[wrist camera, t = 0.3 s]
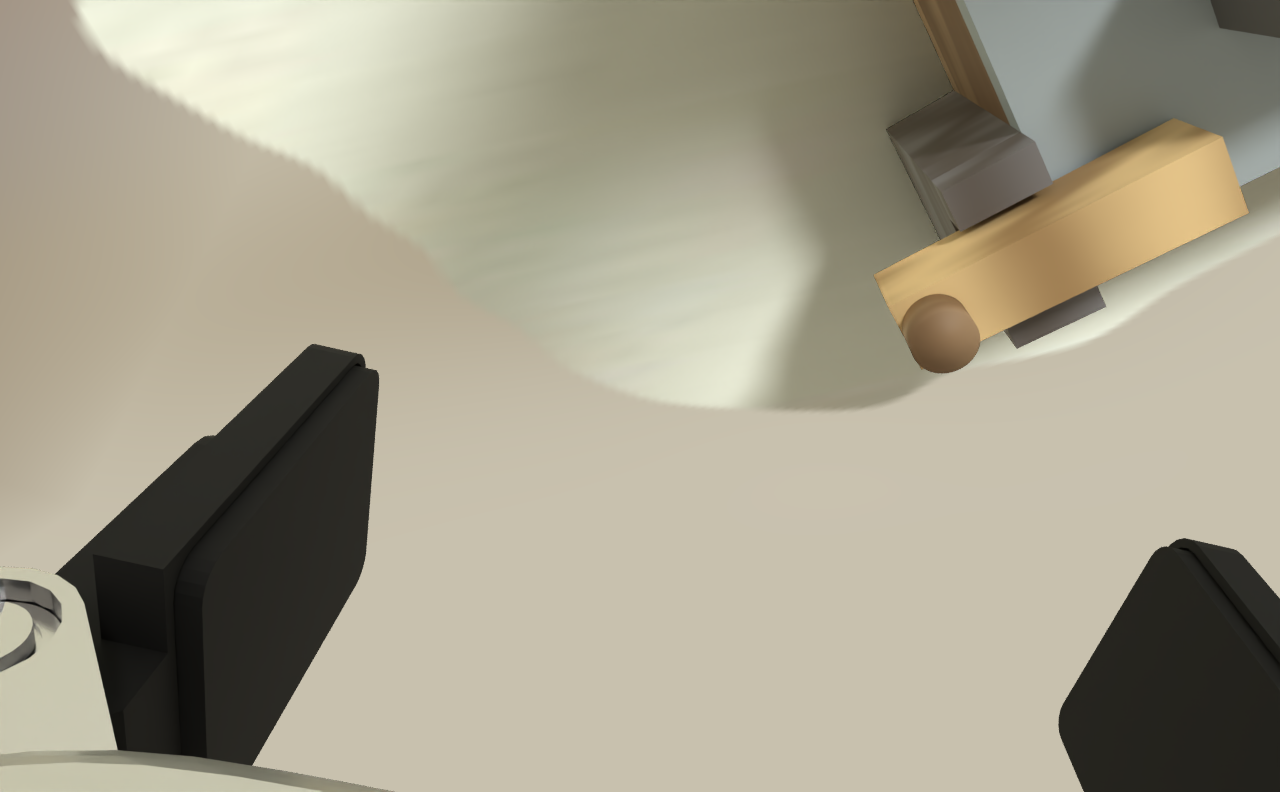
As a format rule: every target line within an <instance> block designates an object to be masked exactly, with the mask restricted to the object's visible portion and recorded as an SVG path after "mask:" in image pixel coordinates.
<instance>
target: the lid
mask: <svg viewBox="0 0 1280 792" xmlns="http://www.w3.org/2000/svg"><path fill="white" fill-rule="evenodd" d="M956 3H957V5H958V7H959V9H960V12H961V14H962V16H963V19H964V21H965V23H966V25H967V28H968V30H969V32H970V35H971V37H972V39H973V41H974V44H975V46H976V48H977V51H978V53H979V55H980V57H981V60H982V62H983V64H984V67H985V69H986V71H987V73H988V76H989V78H990V80H991V83H992V85H993V87H994V89H995V92H996V94H997V96H998V99H999V101H1000V103H1001V105H1002V108H1003V110H1004V112H1005V115H1006V117H1007V119H1008V121H1009V124H1010V126H1012V127H1013V128H1015V129H1016V130H1018V131H1019V132H1021V133H1023V134H1024V135H1026V136H1027V137H1029V138H1031V139H1032V140H1034V141H1035V142H1036V145H1037V147H1038V149H1039V152H1040V154H1041V156H1042V159H1043V161H1044V163H1045V166H1046V168H1047V170H1048V173H1049V175H1050V177H1051V180H1052V181H1054V180H1056V179H1058V178H1060V177H1062V176H1064V175H1066V174H1068V173H1070V172H1071V171H1073V170H1075V169H1077V168H1079V167H1081V166H1083V165H1085V164H1087V163H1089V162H1091V161H1093V160H1094V159H1096V158H1098V157H1100V156H1102V155H1104V154H1106V153H1108V152H1110V151H1112V150H1114V149H1115V148H1117V147H1119V146H1121V145H1123V144H1125V143H1127V142H1129V141H1131V140H1133V139H1135V138H1137V137H1138V136H1140V135H1142V134H1144V133H1146V132H1148V131H1150V130H1152V129H1154V128H1156V127H1158V126H1160V125H1161V124H1163V123H1165V122H1167V121H1169V120H1171V119H1173V118H1175V119H1178V120H1180V121H1183V122H1185V123H1188V124H1191V125H1193V126H1196V127H1198V128H1201V129H1204V130H1206V131H1209V132H1212V133H1214V134H1217V135H1219V136H1222V137H1223V139H1224V142H1225V145H1226V148H1227V151H1228V154H1229V157H1230V159H1231V162H1232V165H1233V168H1234V171H1235V174H1236V177H1237V180H1238V183H1239V186H1242V185H1244V184H1246V183H1248V182H1250V181H1252V180H1254V179H1256V178H1258V177H1261V176H1263V175H1265V174H1267V173H1269V172H1271V171H1273V170H1275V169H1277V168H1279V167H1280V0H956Z"/></svg>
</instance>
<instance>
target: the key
mask: <svg viewBox="0 0 1280 792" xmlns="http://www.w3.org/2000/svg"><path fill="white" fill-rule="evenodd" d="M1052 182H1053V184H1052V185H1050V186H1048V187H1046V188H1044V189H1042V190H1040V191H1038V192H1036V193H1034V194H1033V195H1031V196H1029V197H1027V198H1025V199H1023V200H1021V201H1019V202H1017V203H1015V204H1013V205H1011V206H1010V207H1008V208H1006V209H1004V210H1002V211H1000V212H998V213H996V214H994V215H992V216H990V217H988V218H986V219H985V220H983V221H981V222H979V223H977V224H975V225H973V226H971V227H969V228H967V229H965V230H963V231H962V232H960V231H957V232H955V233H953V234H951V235H949V236H947V237H945V238H943V239H941V240H939V241H937V242H936V243H934V244H932V245H930V246H928V247H926V248H924V249H922V250H920V251H918V252H916V253H914V254H913V255H911V256H909V257H907V258H905V259H903V260H901V261H899V262H897V263H895V264H893V265H892V266H890V267H888V268H886V269H884V270H882V271H880V272H878V273H876V274H874V277H875V279H876V282H877V284H878V286H879V288H880V290H881V293H882V295H883V297H884V299H885V301H886V304H887V306H888V308H889V310H890V312H891V313H892V315H893V317H894V319H895V321H896V323H897V325H898V326H899V328H900V330H901V332H902V334H903V336H904V338H905V340H906V342H907V344H908V346H909V348H910V351H911V353H912V355H913V357H914V359H915V361H916V362H917V363H918V364H919V366H920V368H921V369H926V370H928V371H930V372H934V373H949V372H953V371H956V370H959V369H961V368H963V367H964V366H966V365H967V364H968V363H969V362H970V361H971V360H972V359H973V358H974V356H975V355H976V353H977V351H978V349H979V346H980V341H982V340H984V339H987V338H989V337H991V336H993V335H995V334H997V333H999V332H1001V331H1003V330H1005V329H1007V328H1010V327H1012V326H1014V325H1016V324H1018V323H1020V322H1022V321H1024V320H1026V319H1028V318H1030V317H1033V316H1035V315H1037V314H1039V313H1041V312H1043V311H1045V310H1047V309H1049V308H1051V307H1053V306H1056V305H1058V304H1060V303H1062V302H1064V301H1066V300H1068V299H1070V298H1072V297H1074V296H1076V295H1079V294H1081V293H1083V292H1085V291H1087V290H1089V289H1091V288H1093V287H1095V286H1097V285H1099V284H1102V283H1104V282H1106V281H1108V280H1110V279H1112V278H1114V277H1116V276H1118V275H1120V274H1122V273H1124V272H1127V271H1129V270H1131V269H1133V268H1135V267H1137V266H1139V265H1141V264H1143V263H1145V262H1147V261H1150V260H1152V259H1154V258H1156V257H1158V256H1160V255H1162V254H1164V253H1166V252H1168V251H1170V250H1173V249H1175V248H1177V247H1179V246H1181V245H1183V244H1185V243H1187V242H1189V241H1191V240H1193V239H1196V238H1198V237H1200V236H1202V235H1204V234H1206V233H1208V232H1210V231H1212V230H1214V229H1216V228H1219V227H1221V226H1223V225H1225V224H1227V223H1229V222H1231V221H1233V220H1235V219H1237V218H1239V217H1242V216H1244V215H1246V214H1248V213H1249V212H1248V209H1247V206H1246V203H1245V200H1244V197H1243V194H1242V191H1241V188H1240V186H1239V183H1238V180H1237V177H1236V174H1235V171H1234V168H1233V165H1232V162H1231V159H1230V157H1229V154H1228V151H1227V148H1226V145H1225V142H1224V139H1223V137H1222V136H1219V135H1217V134H1214V133H1212V132H1209V131H1206V130H1204V129H1201V128H1198V127H1196V126H1193V125H1191V124H1188V123H1185V122H1183V121H1180V120H1178V119H1175V118H1173V119H1171V120H1169V121H1167V122H1165V123H1163V124H1161V125H1160V126H1158V127H1156V128H1154V129H1152V130H1150V131H1148V132H1146V133H1144V134H1142V135H1140V136H1138V137H1137V138H1135V139H1133V140H1131V141H1129V142H1127V143H1125V144H1123V145H1121V146H1119V147H1117V148H1115V149H1114V150H1112V151H1110V152H1108V153H1106V154H1104V155H1102V156H1100V157H1098V158H1096V159H1094V160H1093V161H1091V162H1089V163H1087V164H1085V165H1083V166H1081V167H1079V168H1077V169H1075V170H1073V171H1071V172H1070V173H1068V174H1066V175H1064V176H1062V177H1060V178H1058V179H1056V180H1054V181H1052Z"/></svg>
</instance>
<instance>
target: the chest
mask: <svg viewBox="0 0 1280 792" xmlns="http://www.w3.org/2000/svg"><path fill="white" fill-rule="evenodd" d="M913 1H914V3H915V6H916V8H917V10H918V12H919V14H920V17H921V19H922V21H923V23H924V25H925V28H926V30H927V32H928V34H929V36H930V39H931V41H932V43H933V45H934V47H935V50H936V52H937V54H938V56H939V58H940V61H941V63H942V65H943V67H944V69H945V72H946V74H947V76H948V78H949V80H950V83H951V85H952V87H953V89H954V91H952V92H950V93H949V94H947V95H945V96H943V97H942V98H940V99H938V100H936V101H935V102H933V103H931V104H930V105H928V106H926V107H924V108H923V109H921V110H919V111H917V112H916V113H914V114H912V115H910V116H909V117H907V118H905V119H903V120H902V121H900V122H898V123H896V124H895V125H893V126H891V127H889V128H888V129H886V130H887V132H888V134H889V136H890V138H891V140H892V142H893V144H894V146H895V149H896V151H897V153H898V155H899V157H900V159H901V161H902V163H903V165H904V167H905V169H906V171H907V173H908V175H909V177H910V179H911V181H912V183H913V185H914V187H915V189H916V191H917V193H918V195H919V197H920V199H921V201H922V203H923V205H924V207H925V209H926V211H927V213H928V215H929V217H930V219H931V221H932V224H933V226H934V228H935V230H936V232H937V234H938V236H939V238H940V240H941V239H943V238H945V237H947V236H949V235H951V234H953V233H955V232H957V231H960V232H962V231H963V230H965V229H967V228H969V227H971V226H973V225H975V224H977V223H979V222H981V221H983V220H985V219H986V218H988V217H990V216H992V215H994V214H996V213H998V212H1000V211H1002V210H1004V209H1006V208H1008V207H1010V206H1011V205H1013V204H1015V203H1017V202H1019V201H1021V200H1023V199H1025V198H1027V197H1029V196H1031V195H1033V194H1034V193H1036V192H1038V191H1040V190H1042V189H1044V188H1046V187H1048V186H1050V185H1052V184H1053V182H1052V180H1051V177H1050V175H1049V173H1048V170H1047V168H1046V166H1045V163H1044V161H1043V159H1042V156H1041V154H1040V152H1039V149H1038V147H1037V145H1036V142H1035V141H1034V140H1032V139H1031V138H1029V137H1027V136H1026V135H1024V134H1023V133H1021V132H1019V131H1018V130H1016V129H1015V128H1013V127H1012V126H1010V124H1009V121H1008V119H1007V117H1006V115H1005V112H1004V110H1003V108H1002V105H1001V103H1000V101H999V99H998V96H997V94H996V92H995V89H994V87H993V85H992V83H991V80H990V78H989V76H988V73H987V71H986V69H985V67H984V64H983V62H982V60H981V57H980V55H979V53H978V51H977V48H976V46H975V44H974V41H973V39H972V37H971V35H970V32H969V30H968V28H967V25H966V23H965V21H964V19H963V16H962V14H961V12H960V9H959V7H958V5H957V3H956V0H913ZM1104 307H1106V305H1105V303H1104V301H1103V298H1102V296H1101V294H1100V291H1099V289H1098V287H1097V286H1095V287H1093V288H1091V289H1089V290H1087V291H1085V292H1083V293H1081V294H1079V295H1076V296H1074V297H1072V298H1070V299H1068V300H1066V301H1064V302H1062V303H1060V304H1058V305H1056V306H1053V307H1051V308H1049V309H1047V310H1045V311H1043V312H1041V313H1039V314H1037V315H1035V316H1033V317H1030V318H1028V319H1026V320H1024V321H1022V322H1020V323H1018V324H1016V325H1014V326H1012V327H1010V328H1007V329H1005V330H1004V332H1005V333H1006V334H1007V336H1008V337H1009V338H1010V340H1011V341H1012V343H1013V344H1014V345H1015V347H1016V348H1019V347H1021V346H1024V345H1026V344H1028V343H1030V342H1032V341H1034V340H1036V339H1039V338H1041V337H1043V336H1045V335H1047V334H1049V333H1051V332H1053V331H1056V330H1058V329H1060V328H1062V327H1064V326H1066V325H1068V324H1070V323H1073V322H1075V321H1077V320H1079V319H1081V318H1083V317H1085V316H1087V315H1090V314H1092V313H1094V312H1096V311H1098V310H1100V309H1102V308H1104Z"/></svg>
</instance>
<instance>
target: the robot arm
mask: <svg viewBox="0 0 1280 792" xmlns="http://www.w3.org/2000/svg"><path fill="white" fill-rule="evenodd" d="M378 391H379V375H378V372H377V371H376V370H372V369H368V368H365V360H364V357H363V356H362V355H361V354H357V353H352V352H348V351H343V350H339V349H335V348H330V347H325V346H321V345H317V344H312V345H310V346H309V347H307V348H306V349H305V350H304V351H303V352H302V353H301V354H300V355H299V356H298V357H297V358H296V359H295V360H294V361H293V362H292V363H291V364H290V365H289V366H288V367H287V368H285V369H284V370H283V371H282V372H281V373H280V374H279V375H278V376H277V377H276V378H275V379H274V380H273V381H272V382H271V383H270V384H269V385H268V386H267V387H266V388H265V389H264V390H263V391H262V392H261V393H259V394H258V395H257V396H256V397H255V398H254V399H253V400H252V401H251V402H250V403H249V404H248V405H247V406H246V407H245V408H244V409H243V410H242V411H241V412H240V413H239V414H238V415H237V416H236V417H235V418H234V419H233V420H231V421H230V422H229V423H228V424H227V425H226V426H225V427H224V428H223V429H222V430H221V431H220V432H219V433H218V434H217V435H216V436H205V437H203V438H201V439H200V440H199V441H197V442H196V443H194V444H193V445H192V446H191V447H190V448H189V449H188V450H187V451H186V452H185V453H184V454H183V455H182V456H181V457H179V458H178V459H177V460H176V461H175V462H174V463H173V464H172V465H171V466H170V467H169V468H168V469H167V470H166V471H164V472H163V473H162V474H161V475H160V476H159V477H158V478H157V479H156V480H155V481H154V482H153V483H152V484H151V485H150V486H148V487H147V488H146V489H145V490H144V491H143V492H142V493H141V494H140V495H139V496H138V497H137V498H136V499H135V500H134V501H133V502H131V503H130V504H129V505H128V506H127V507H126V508H125V509H124V510H123V511H122V512H121V513H120V514H119V515H118V516H117V517H116V518H114V519H113V520H112V521H111V522H110V523H109V524H108V525H107V526H106V527H105V528H104V529H103V530H102V531H100V532H99V533H98V534H97V535H96V536H95V537H94V538H93V539H92V540H91V541H90V542H89V543H88V544H87V545H86V546H84V548H82V549H81V550H80V551H79V552H78V553H77V554H76V555H75V556H74V557H73V558H72V559H71V560H70V561H68V562H67V563H66V565H64V566H63V567H62V568H61V569H60V570H59V571H58V572H57V573H56V574H51V573H47V572H44V571H41V570H37V569H33V568H18V567H0V792H393V791H388V790H383V789H378V788H373V787H367V786H362V785H357V784H351V783H347V782H341V781H336V780H331V779H325V778H319V777H314V776H309V775H303V774H298V773H293V772H287V771H282V770H275V769H269V768H262V767H256V766H252V765H253V763H254V761H255V759H256V758H257V756H258V754H259V753H260V751H261V749H262V747H263V746H264V744H265V742H266V740H267V739H268V737H269V735H270V733H271V731H272V730H273V728H274V726H275V725H276V723H277V721H278V720H279V718H280V716H281V714H282V713H283V711H284V709H285V707H286V706H287V704H288V702H289V700H290V699H291V697H292V695H293V693H294V692H295V690H296V688H297V687H298V685H299V683H300V681H301V680H302V677H303V676H304V674H305V672H306V671H307V669H308V667H309V666H310V664H311V662H312V660H313V659H314V657H315V655H316V654H317V652H318V650H319V648H320V647H321V645H322V643H323V641H324V640H325V638H326V636H327V634H328V633H329V631H330V629H331V627H332V626H333V624H334V622H335V620H336V619H337V617H338V615H339V614H340V612H341V610H342V608H343V607H344V605H345V603H346V601H347V600H348V598H349V596H350V594H351V592H352V591H353V589H354V588H355V586H356V584H357V582H358V580H359V577H360V574H361V572H362V569H363V565H364V561H365V556H366V545H367V533H368V520H369V507H370V506H369V505H370V494H371V481H372V468H373V455H374V443H375V429H376V417H377V416H376V415H377V403H378ZM1059 733H1060V736H1061V739H1062V742H1063V743H1064V746H1065V748H1066V751H1067V753H1068V756H1069V758H1070V760H1071V763H1072V765H1073V767H1074V770H1075V772H1076V774H1077V777H1078V779H1079V781H1080V784H1081V786H1082V788H1083V791H1084V792H1280V598H1279V597H1278V596H1277V595H1276V594H1275V593H1274V591H1273V590H1272V589H1271V588H1270V587H1269V586H1268V585H1267V583H1266V582H1265V581H1264V580H1263V579H1262V577H1261V576H1260V575H1259V574H1258V573H1257V572H1256V571H1255V569H1254V568H1253V567H1252V566H1251V565H1250V563H1248V561H1247V560H1246V559H1245V558H1244V556H1243V555H1241V554H1240V553H1239V552H1238V551H1237V550H1234V549H1230V548H1226V547H1221V546H1217V545H1213V544H1208V543H1204V542H1199V541H1195V540H1190V539H1186V538H1184V539H1179V540H1176V541H1175V542H1173V543H1172V544H1171V545H1170V546H1169V547H1161V548H1159V549H1158V550H1156V551H1155V552H1154V554H1153V555H1152V556H1151V558H1150V559H1149V561H1148V563H1147V564H1146V566H1145V568H1144V570H1143V571H1142V573H1141V574H1140V576H1139V578H1138V580H1137V581H1136V583H1135V585H1134V586H1133V588H1132V590H1131V591H1130V593H1129V595H1128V596H1127V598H1126V600H1125V601H1124V603H1123V605H1122V606H1121V608H1120V610H1119V611H1118V613H1117V615H1116V616H1115V618H1114V620H1113V621H1112V623H1111V625H1110V626H1109V628H1108V630H1107V631H1106V633H1105V635H1104V637H1103V638H1102V640H1101V641H1100V643H1099V645H1098V646H1097V648H1096V650H1095V651H1094V653H1093V655H1092V656H1091V658H1090V660H1089V662H1088V663H1087V665H1086V667H1085V668H1084V670H1083V672H1082V673H1081V675H1080V677H1079V678H1078V680H1077V682H1076V683H1075V685H1074V687H1073V688H1072V690H1071V692H1070V693H1069V695H1068V697H1067V698H1066V700H1065V702H1064V703H1063V705H1062V708H1061V710H1060V715H1059Z"/></svg>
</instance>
